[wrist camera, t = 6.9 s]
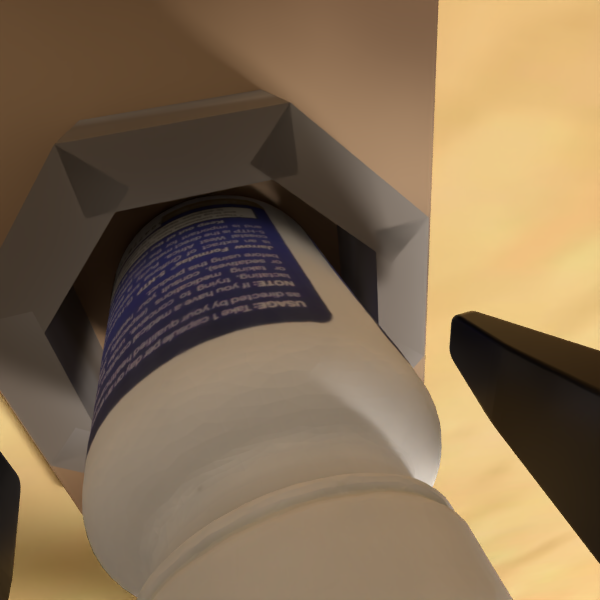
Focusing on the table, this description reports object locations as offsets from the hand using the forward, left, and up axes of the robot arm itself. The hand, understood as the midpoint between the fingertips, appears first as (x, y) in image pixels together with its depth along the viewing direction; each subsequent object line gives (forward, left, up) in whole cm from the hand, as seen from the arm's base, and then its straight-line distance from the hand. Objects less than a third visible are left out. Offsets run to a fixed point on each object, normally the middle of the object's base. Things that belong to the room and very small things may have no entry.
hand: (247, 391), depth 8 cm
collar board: (0, 0, -5) cm, 5 cm away
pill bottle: (0, 0, -4) cm, 4 cm away
